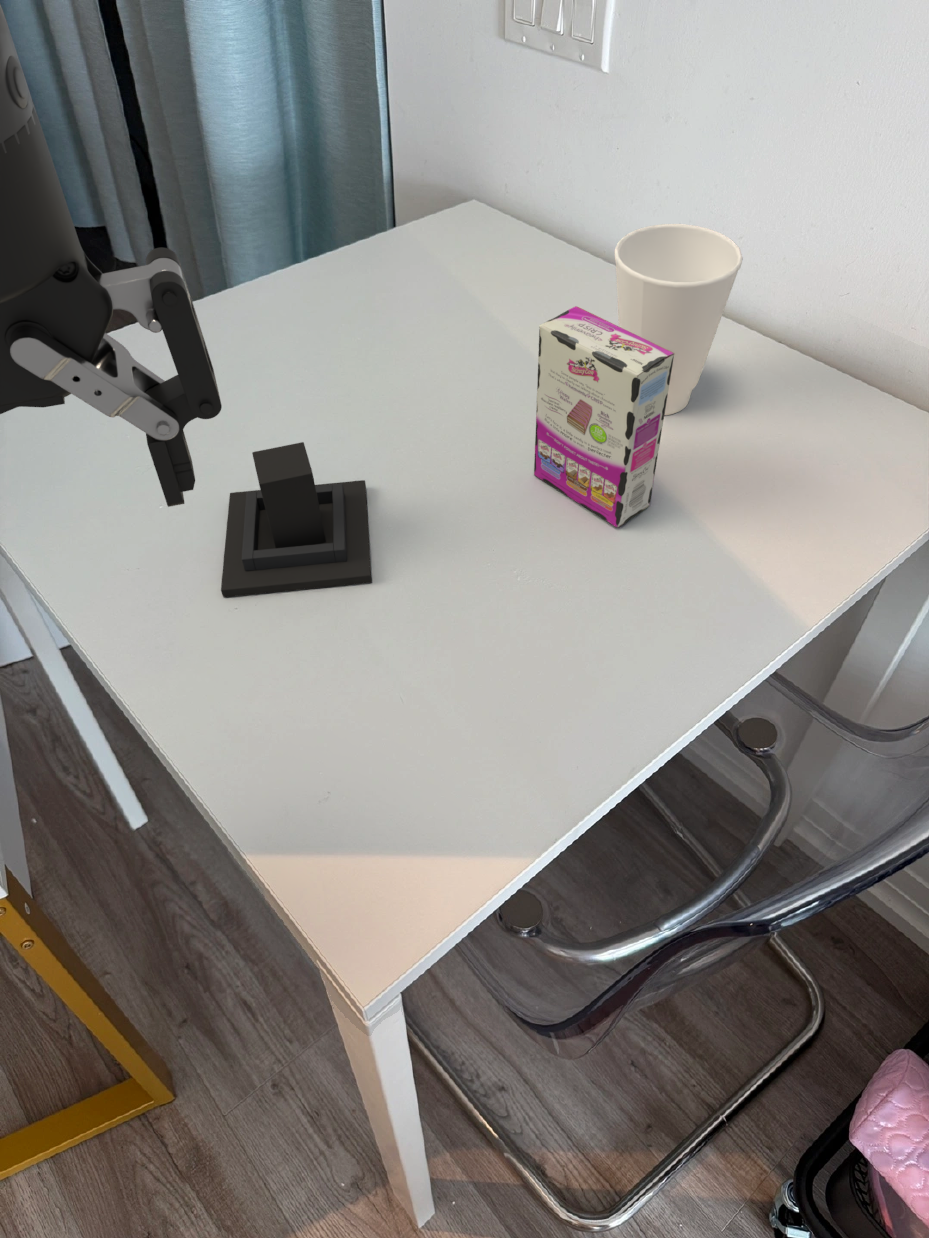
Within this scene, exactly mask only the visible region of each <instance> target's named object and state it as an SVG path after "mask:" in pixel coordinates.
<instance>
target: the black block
mask: <svg viewBox="0 0 929 1238" xmlns="http://www.w3.org/2000/svg"><path fill="white" fill-rule="evenodd" d="M252 458H253V462H254V468H255V472H256V476H257V480H258V485H259V490H261V493H262V497H263V501H264V505H265V509H266V513H267V517H268V521H269V524H270V528H271V532H272V536H273V540H274V544H275V548H285V547H296V546H306V545H315V544H320V543H324V542H326V539H325V534H324V529H323V523H322V518H321V513H320V508H319V503H318V498H317V493H316V488H315V485H316V483H315V479H314V474H313V469H312V466H311V463H310V459H309V455H308V451H307V449H306V445H305V442H304V441H301V442H296V443H291V444H286V445H281V446H276V447H271V448H265V449H262V450H261V449H260V450H257V451H252Z"/></svg>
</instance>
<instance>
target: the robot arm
mask: <svg viewBox="0 0 929 1238" xmlns="http://www.w3.org/2000/svg"><path fill="white" fill-rule="evenodd" d="M52 157H53V156H52V155H51V151H50V148H49V145H48V142H47V139H46V136H45V133H44V130H43V127H42V125H41V122H40V118H39V115H38V111H37V109H36V106H35V103H34V100H33V98H32V95H31V92H30V88H29V86H28V82H27V79H26V76H25V74H24V71H23V68H22V64H21V61H20V57H19V55H18V52H17V48H16V45H15V43H14V40H13V36H12V34H11V30H10V28H9V24H8V20H7V18H6V16H5V13H4V10H3V7H2V5H1V4H0V415H1V414H4V413H7V412H9V411H11V410H14V409H16V408H21V407H23V408H48V407H54V406H61V405H65V404H66V399H65V398H67V397H69V396H70V395H73V396H75V397H76V398H78V399H79V400H81V401H83V402H84V403H86V404H87V405H89V406H90V407H92V408H94V409H95V410H97V411H99V412H100V413H102V414H103V415H105V416H106V417H108V418H116V417H120V418H122V419H123V420H124V421H126V422H128V423H129V424H130V425H132V426H134V427H135V428H137V429H139V430H140V431H142V432H143V433H145V437H146V438H145V439H146V443H147V444H146V445H147V447H148V451H149V453H150V457H151V460H152V463H153V467H154V469H155V472H156V475H157V478H158V481H159V485H160V488H161V490H162V493H163V496H164V500H165V502H166V505H167V507H168V508H169V507H176V506H180V505H185V503H186V502H185V497H184V492H189V491H194V488H195V483H196V477H195V470H194V465H193V460H192V455H191V452H190V449H189V445H188V442H187V438H186V435H185V431H184V429H185V427H186V426H187V425H188V424H189V423H190V422H191V421H193V420H195V419H197V418H198V419H201V420H212V419H213V418H216V417H217V416H218V415H219V414H220V413H221V411H222V401H221V397H220V392H219V387H218V384H217V379H216V374H215V370H214V366H213V363H212V360H211V357H210V353H209V349H208V347H207V344H206V341H205V338H204V333H203V331H202V328H201V325H200V322H199V318H198V315H197V312H196V308H195V306H194V305H195V304H194V302H193V299H192V295H191V293H190V289H189V285H188V283H187V280H186V277H185V273H184V269H183V267H182V264H181V261H180V258H179V256H178V255H177V254H176V252H174V250H172V249H170V248H167V247H156V248H153V249H151V250H150V251H149V252H148V254H147V255H146V256H145V265H139V266H134V267H130V268H124V269H119V270H115V271H114V270H113V271H109V272H104V273H103V272H102V271H101V270H100V269H99V268H98V267H97V266H96V265H95V264H94V263H93V262H92V261H91V260H90V259H89V257H88V256H87V255H86V253H85V251H84V250H83V247H82V245H81V243H80V240H79V237H78V234H77V230H76V228H75V224H74V221H73V219H72V215H71V212H70V210H69V205H68V203H67V199H66V198H65V194H64V191H63V188H62V186H61V182H60V178H59V175H58V173H57V169H56V166H55V163H54V161H53V158H52ZM114 310H123V311H126V312H128V313H130V314H131V315H132V316H133V317H134V318H135V320H136V321H137V323H138V324H139V325H140V326H141V327H142V328H143V329H145V330H148V331H149V332H152V333H155V334H157V333H160V332H161V331H162V333H163V336H164V339H165V342H166V345H167V347H168V350H169V353H170V356H171V359H172V361H173V364H174V367H175V370H176V373H177V374H176V375H174V376H172V377H170V378H168V379H166V380H164V379H163V378H161V377H160V376H159V375H157V374H156V373H154V372H153V371H152V370H150V369H148V368H147V367H146V366H144V365H143V364H142V363H140V362H138V361H137V360H136V359H135V358H134V357H133V356H132V355H131V353H130V351H129V350H128V349H127V348H126V347H125V346H124V345H123V343H120V342H119V341H118V340H116V339H114V337H113V336H111V335H109V334H108V333H107V330H108V328H109V327H110V323H111V321H112V318H113V313H114Z"/></svg>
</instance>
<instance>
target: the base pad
mask: <svg viewBox="0 0 929 1238" xmlns="http://www.w3.org/2000/svg"><path fill="white" fill-rule="evenodd" d="M315 488H316V493H317V498H318V503H319V508H320V513H321V518H322V523H323V529H324V534H325V539H326V542H324V543H320V544H315V545H306V546H296V547H285V548H275V544H274V540H273V536H272V532H271V528H270V524H269V521H268V517H267V513H266V509H265V505H264V501H263V497H262V493H261V490H260V489H255V490H246V491H235V492H230V493H229V498H228V509H227V510H228V511H227V519H226V533H225V542H224V552H223V564H222V573H221V585H220V592H221V595H222V597H223V598H233V597H243V596H253V595H265V594H273V593H275V594H276V593H284V592H292V591H293V592H294V591H303V590H304V591H305V590H315V589H323V588H333V587H335V588H336V587H343V586H353V585H364V584H372V582H373V581H372V580H373V579H372V565H371V564H372V562H371V549H370V548H371V547H370V545H371V544H370V530H369V512H368V497H367V495H368V494H367V483H366V479H362V480H351V481H340V482H330V483H321V484H320V483H319V484H315Z"/></svg>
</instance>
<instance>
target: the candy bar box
mask: <svg viewBox="0 0 929 1238" xmlns="http://www.w3.org/2000/svg"><path fill="white" fill-rule="evenodd" d="M538 330H539V332H538V357H537V361H538V362H537V388H536V412H535V415H536V417H535V437H534V438H535V440H534V464H533V475H534V476H535V477H536V478H537V479H539V480H541V481H542V482H544V483H545V484H547V485H549V486H550V487H551V488H553V489H555V490H556V491H559V492H560V493H561V494H563V495H565V496H566V497H568V498H569V499H571V500H572V501H574V502H576V503H578V504H579V505H581V506H582V507H583V508H585V509H587V510H589V511H590V512H592V513H593V514H595V515H596V516H598V517H600V518H602V520H604V521H606V522H608V524H610V525H612V526H614V527H615V528H620V527H621V526H623V525H624V524H626V523H627V522H628V521H630V520H631V519H633V518H634V517H636V516H637V515H639V514H640V513H643V512H644V511H645V510H646V509H648V507H650V505H651V502H652V500H651V499H652V495H653V487H654V481H655V476H656V469H657V462H658V456H659V450H660V445H661V438H662V437H661V436H662V432H663V431H662V430H663V425H664V420H665V415H664V414H665V408H666V401H667V396H668V389H669V383H670V377H671V371H672V365H673V358H674V354H675V353H673V352H671V351H669V350H667V349H665V348H662V347H660V346H658V345H656V344H654V343H652V342H650V341H648V340H646V339H644V338H642V337H640V336H638V335H636V334H633V333H631V332H629V331H627V330H625V329H623V328H621V327H619V325H617V324H616V323H612V322H610V321H609V320H606V319H604V318H602V317H601V316H598V315H596V314H594V313H591V312H589V311H588V310H586V309H584V308H581V307H580V306H577V305H575V306H573V307H572V308H569V309H568V310H565V311H563V312H562V313H560V314H558V315H557V316H554V317H552V318H551V319H549V320H547V321H545V322H543V323H541V324H539V329H538Z"/></svg>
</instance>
